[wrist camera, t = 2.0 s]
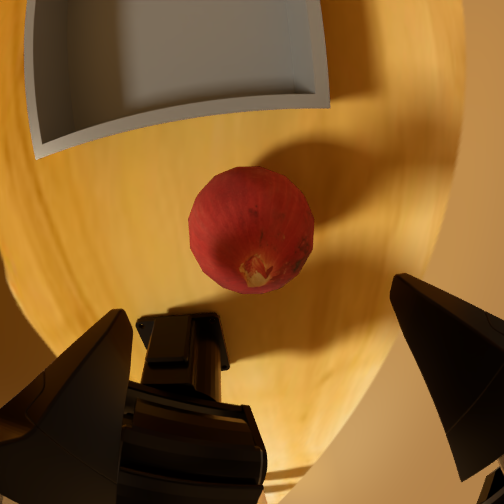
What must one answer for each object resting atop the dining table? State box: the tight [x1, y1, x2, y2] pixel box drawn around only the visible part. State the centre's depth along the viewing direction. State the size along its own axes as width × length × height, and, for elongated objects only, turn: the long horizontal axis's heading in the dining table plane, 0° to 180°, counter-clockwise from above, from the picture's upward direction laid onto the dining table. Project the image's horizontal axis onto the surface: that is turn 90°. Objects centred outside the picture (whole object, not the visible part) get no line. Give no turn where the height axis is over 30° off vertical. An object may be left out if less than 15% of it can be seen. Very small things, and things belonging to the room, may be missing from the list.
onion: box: [188, 166, 314, 294], centre depth 13 cm, size 6×6×8 cm
